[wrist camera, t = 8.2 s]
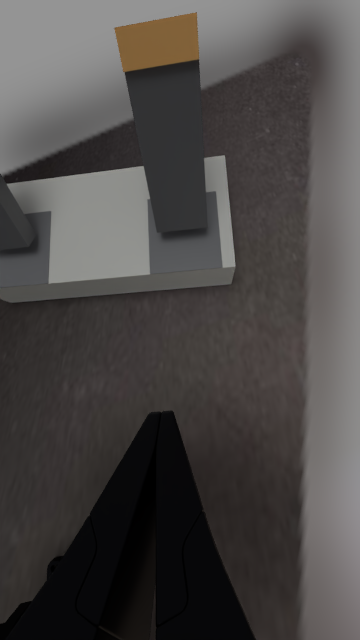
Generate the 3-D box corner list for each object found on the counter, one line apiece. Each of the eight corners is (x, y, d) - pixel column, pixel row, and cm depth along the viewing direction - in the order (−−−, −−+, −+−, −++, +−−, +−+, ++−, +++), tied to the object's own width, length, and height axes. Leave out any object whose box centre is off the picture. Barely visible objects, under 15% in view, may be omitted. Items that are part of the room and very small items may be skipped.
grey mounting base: (231, 284, 23) (235, 266, 19) (11, 302, 25) (-27, 289, 21) (222, 189, 25) (224, 154, 21) (17, 214, 27) (-17, 186, 23)
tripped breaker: (208, 229, 18) (196, 12, 11) (156, 235, 19) (114, 28, 12) (206, 214, 20) (195, 15, 13) (158, 219, 20) (122, 28, 13)
